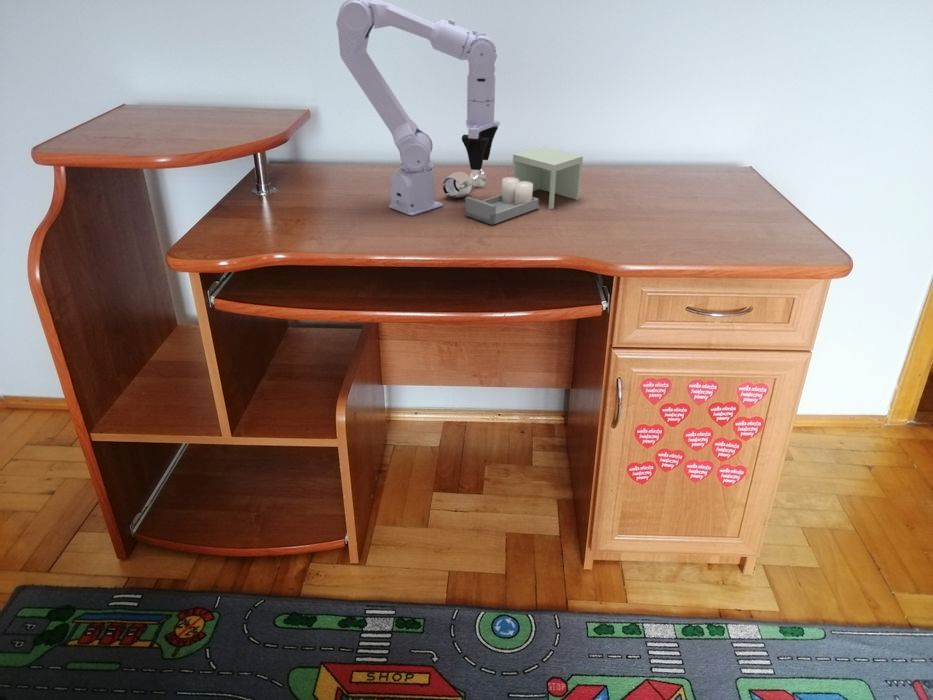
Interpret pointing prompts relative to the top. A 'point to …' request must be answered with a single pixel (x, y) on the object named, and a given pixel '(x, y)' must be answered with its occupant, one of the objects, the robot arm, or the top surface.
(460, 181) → the wineglass
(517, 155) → the block
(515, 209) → the tray
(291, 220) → the top surface
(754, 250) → the top surface
